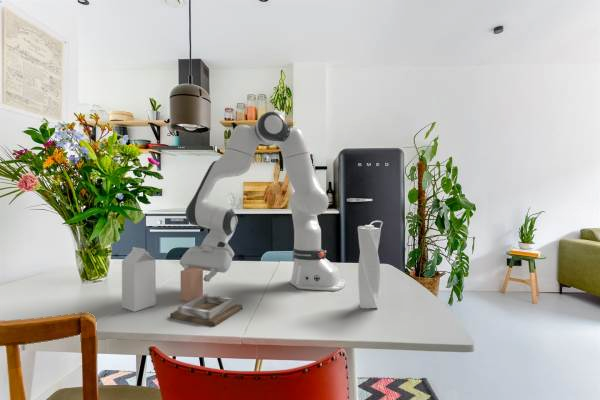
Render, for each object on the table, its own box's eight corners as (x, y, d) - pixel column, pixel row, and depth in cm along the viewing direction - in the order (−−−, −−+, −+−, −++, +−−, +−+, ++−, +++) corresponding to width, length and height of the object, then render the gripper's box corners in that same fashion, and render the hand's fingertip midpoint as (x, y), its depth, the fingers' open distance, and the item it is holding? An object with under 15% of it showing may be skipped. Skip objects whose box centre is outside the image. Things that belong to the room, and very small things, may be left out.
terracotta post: (202, 296, 109) (202, 268, 109) (191, 301, 103) (190, 272, 103) (192, 294, 110) (192, 267, 110) (180, 300, 105) (180, 271, 105)
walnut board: (242, 308, 97) (242, 298, 97) (214, 326, 84) (214, 314, 84) (201, 302, 103) (201, 292, 103) (170, 317, 90) (170, 306, 90)
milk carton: (134, 312, 94) (134, 250, 93) (121, 307, 97) (121, 248, 97) (155, 305, 100) (155, 247, 99) (143, 301, 103) (143, 245, 103)
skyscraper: (380, 302, 103) (381, 219, 102) (383, 310, 95) (383, 221, 95) (357, 301, 104) (357, 219, 104) (357, 309, 97) (357, 221, 96)
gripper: (187, 241, 119) (168, 271, 110) (231, 244, 112) (214, 277, 103) (195, 250, 123) (177, 280, 114) (238, 254, 116) (222, 287, 107)
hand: (195, 279), depth 108 cm, fingers open, 8 cm apart
